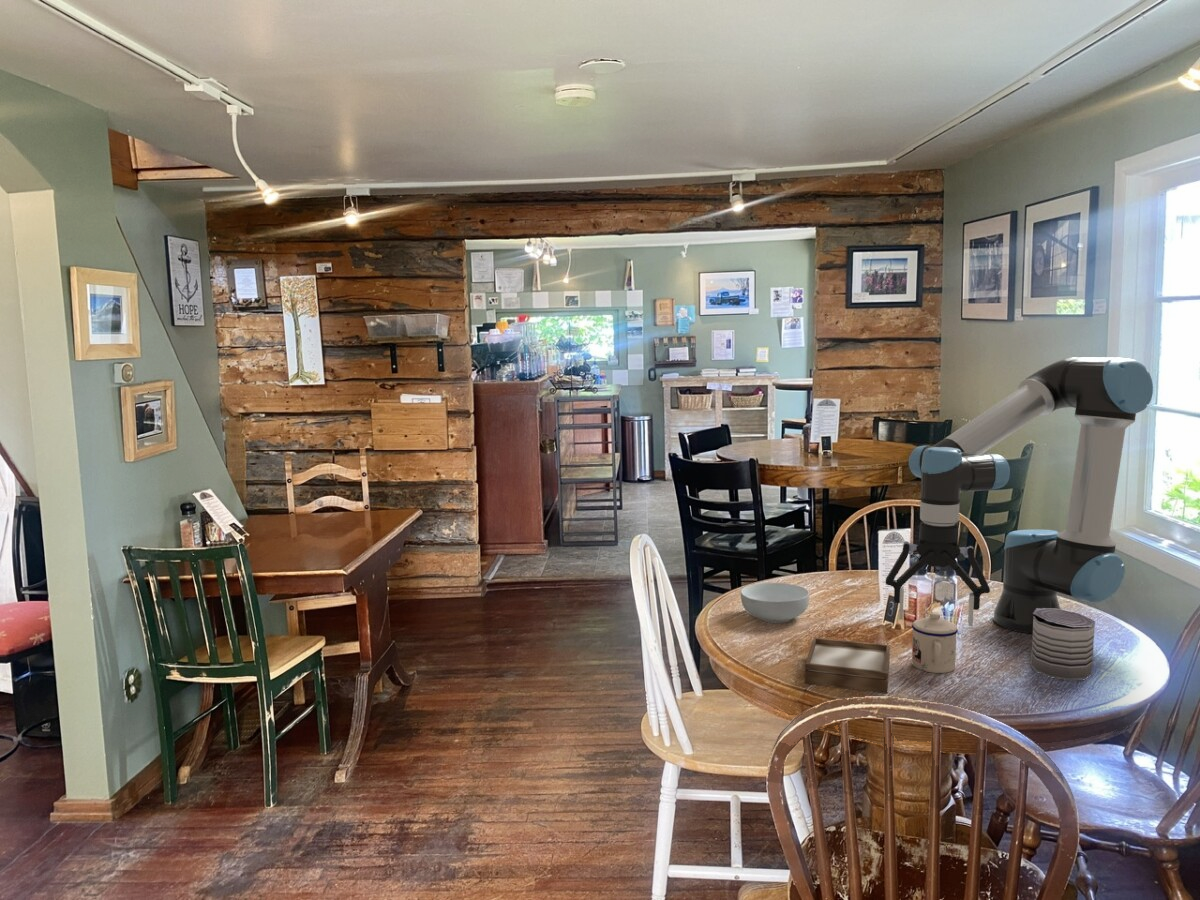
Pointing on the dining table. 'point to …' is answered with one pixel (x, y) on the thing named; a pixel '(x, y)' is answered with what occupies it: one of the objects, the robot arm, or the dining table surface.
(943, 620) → the teacup with lid
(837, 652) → the wooden box
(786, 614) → the cereal bowl
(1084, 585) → the robot arm
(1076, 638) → the can
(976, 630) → the dining table surface
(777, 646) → the dining table surface
